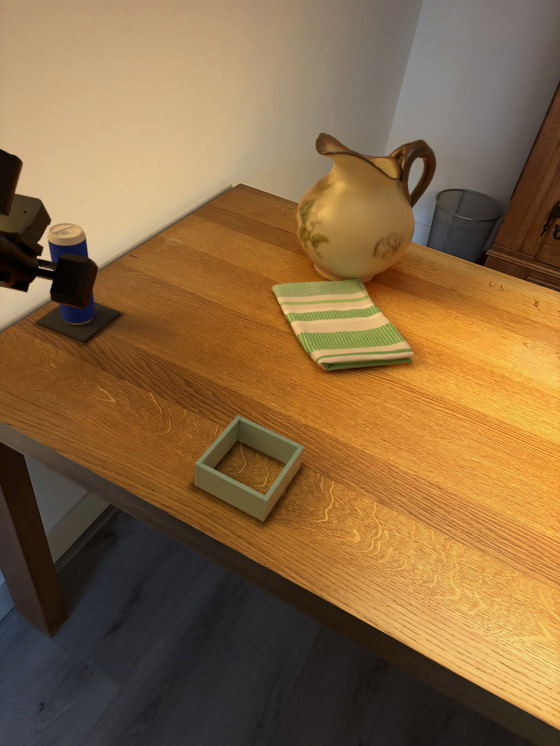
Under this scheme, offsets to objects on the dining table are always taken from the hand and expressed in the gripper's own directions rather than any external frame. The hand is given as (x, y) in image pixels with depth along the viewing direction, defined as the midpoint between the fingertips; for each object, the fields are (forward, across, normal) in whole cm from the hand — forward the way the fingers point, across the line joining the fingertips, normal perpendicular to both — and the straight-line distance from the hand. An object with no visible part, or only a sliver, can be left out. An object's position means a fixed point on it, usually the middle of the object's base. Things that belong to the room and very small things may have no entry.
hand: (51, 286), depth 77 cm
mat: (+11, 0, +3) cm, 11 cm away
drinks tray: (-5, -34, +18) cm, 39 cm away
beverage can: (+10, 0, +2) cm, 11 cm away
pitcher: (+35, -39, -22) cm, 57 cm away
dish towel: (+20, -41, -7) cm, 46 cm away
